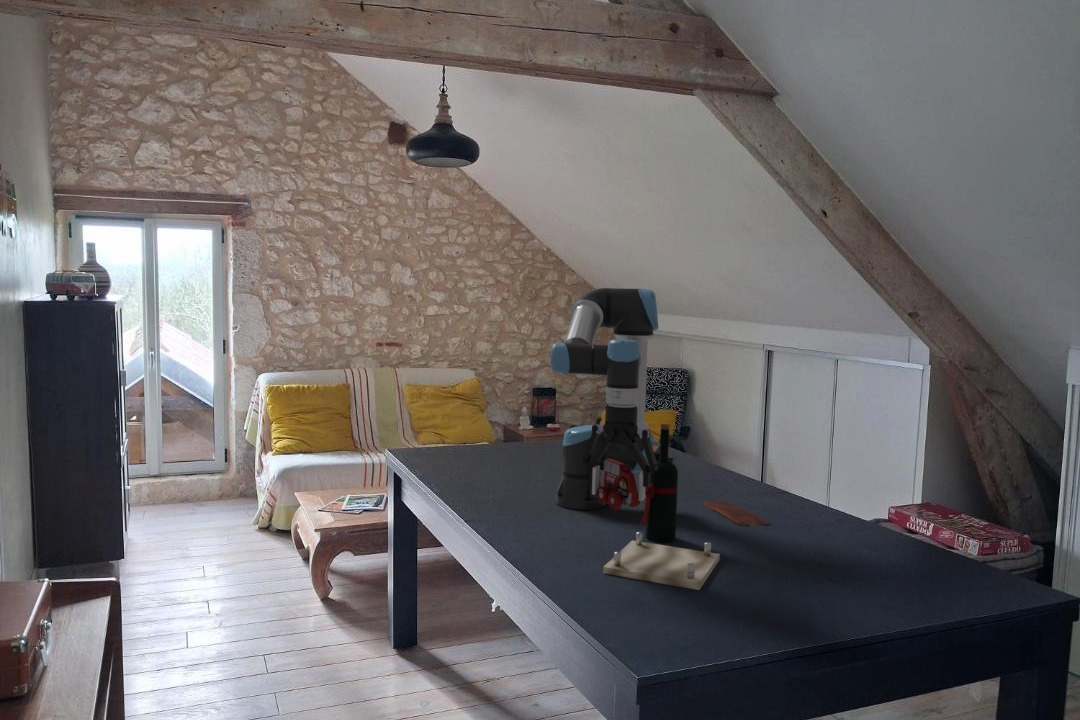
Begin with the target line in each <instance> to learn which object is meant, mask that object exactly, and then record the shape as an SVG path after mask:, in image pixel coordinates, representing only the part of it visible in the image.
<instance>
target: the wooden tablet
mask: <svg viewBox="0 0 1080 720" xmlns="http://www.w3.org/2000/svg"><path fill="white" fill-rule="evenodd" d="M702 503H703V505H706V507H708V508H709V509H711V510H712V511H714V510H715V511H714V512H716V513H718V514H720V515H722V516H723V517H725V518H726V519H728V520H729V521H731V522H732V523H734V524H736V525H737V524H738V525H737V526H740V527H749V526H748V525H751V526H756V525H766V526H769V525H770V524H771V523H770V522H769V521H768V520H766V519H764V518H763V517H760V516H758V514H755V513H753V512H751V511H749V510H746V509H744V508H742V507H740V506H738V505H736V504H734V503H732V502H729V501H727V500H724V499H723V500H721V499H720V500H712V501H703V502H702Z"/></svg>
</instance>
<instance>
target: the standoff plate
mask: <svg viewBox="0 0 1080 720" xmlns="http://www.w3.org/2000/svg"><path fill="white" fill-rule="evenodd" d="M703 544H704V545H703V547H704V548H703V551H702V550H696V549H691V548H683V547H677V546H670V545H664V544H660V543H659V544H658V543H652V542H651V543H650V542H644V541H643V532H642V531H636V532H635V540H631V541H630V542H629V543H628V544H626V546H624V547H623V548H622V549H621V550H620V551H614V552H613V557H612V558H611V559H610V560H609V561H608V562H607V563H606V564H605V565H604V566H603V569H602V574H605V575H612V576H616V577H623V578H629V579H634V580H640V581H646V582H651V583H657V584H662V585H668V586H673V587H674V586H675V587H680V588H686V589H691V590H697V591H700V589H701V588H702V586H704V584H705V583H706V581H707V579H708V578H709V576H710V575H711V573H712V572H713V570H714V569H715V567H716V566H717V564H718V563H719V562H720V560H721V559H720V555H721V554H720V553H715V552H711V551H712V542H708V541H705V542H704V543H703Z"/></svg>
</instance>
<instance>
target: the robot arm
mask: <svg viewBox="0 0 1080 720" xmlns="http://www.w3.org/2000/svg"><path fill="white" fill-rule="evenodd" d="M569 319H570V323H569V326H568V330H567V331H566V335H565V337H564V340H563V342H556V343H553V344H552V346H551V349H550V368H551V371H552V372H553V373H558V374H565V375H571V374H572V375H597V376H598V375H599V376H606V385H605V386H606V387H605V389H606V392H605V403H606V404H607V405H606V406H605V415H604V417H605V419H604V420H605V421H604V425H602V424H600V423H596V424H589V425H586V424H585V425H579V426H578V425H577V426H574V427H570V428H568V429H566V430H565V432H564V434H563V443H562V447H563V448H562V449H563V450H562V476H561V480H560V483H559V484H558V485H559V486H558V488H557V491H556V494H555V503H556V505H558V506H560V507H562V508H566V509H571V510H584V511H585V510H597V509H600V508H604V507H606V504H607V503H606V504H601V503H599V501H598V499H597V490H598V488H599V487H604V483H603V482H602V471H605V470H604V460H605V459H613V460H615V461H618V462H621V463H624V464H629V465H630V466H631V468H632V470H631V471H630V472H632V473H633V474H634V473H639V476H638V478H639V480H638V492H639V500H638V501H640V502H643V501H644V500H646V495H645V487H648V486H649V484H650V472H654V471H656V470H657V469H658V465H657V461H656V458H655V454H654V451H653V448H652V446H654V439H655V434H653V433H651V430H650V426H649V425H648V424H647V423H646V422H645V419H646V391H647V371H648V370H647V367H648V346H649V345H648V342H649V340H651V339H652V337H653V338H654V331H657V330H659V319H658V307H657V296H656V293H655V291H653V290H651V289H647V288H646V289H645V288H619V287H617V288H614V287H613V288H611V287H602V288H596V289H593V290H591V291H588V292H586V293H585V294H583V295H582V296H580V297H579V298H577V300H576V301H575V302H574V303H573V304H572V307H571V310H570V312H569ZM599 328H601V329H602V328H604V329H605V328H606V329H613V336H614V337H615V339H611V340H609V341H608V343H607V344H595V339H596V335H597V331H598V329H599Z"/></svg>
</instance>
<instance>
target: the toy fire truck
mask: <svg viewBox="0 0 1080 720" xmlns="http://www.w3.org/2000/svg"><path fill="white" fill-rule="evenodd" d="M631 470H632V468H631V466H630V465H629V464H624V463H621V462H618V461H615V460H613V459H605V460H604V470H603V471H604V476H603V487H599V488H598V490H597V499H598V501H599V503H601V504H608V505H609V507H610V509H612V510H618V509H619V510H620V509H621V507H622V506H623V505H628V506H630V508H636V507H638V506H640V504H641V501H638V500H639V490H638V488H637V483H636V478H635V475H634V472H633V473H632V472H630V471H631Z"/></svg>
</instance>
